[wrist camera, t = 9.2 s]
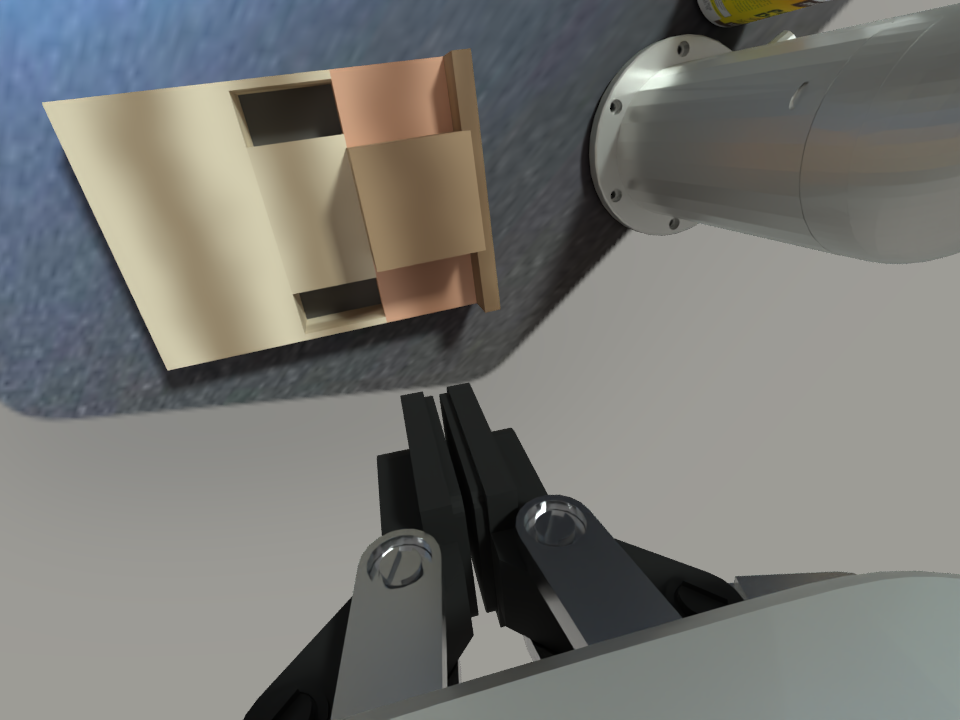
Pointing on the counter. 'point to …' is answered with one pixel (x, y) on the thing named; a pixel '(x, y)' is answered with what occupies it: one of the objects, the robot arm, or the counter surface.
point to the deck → (267, 202)
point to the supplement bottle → (748, 10)
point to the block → (418, 198)
